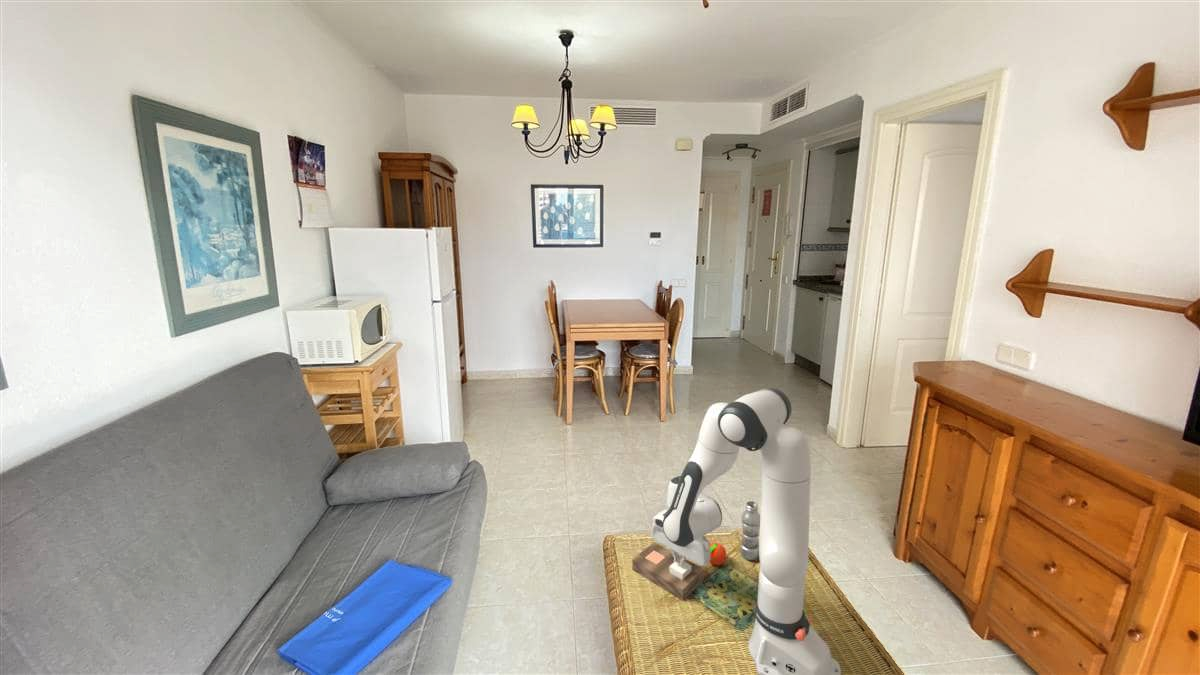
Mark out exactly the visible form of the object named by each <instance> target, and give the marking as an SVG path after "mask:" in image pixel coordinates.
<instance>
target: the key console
mask: <svg viewBox="0 0 1200 675" xmlns="http://www.w3.org/2000/svg"><path fill="white" fill-rule="evenodd" d="M654 550H655V551H656V552H658V553H660V554H662V555H663V556H665V557H666V558H665V559H664V560H663V561H662V562H661V563H659V564H658V565H655V564H654V563H652V562H650V561H648V560H647V559H645V557H646V556H647V555H649V554H650V553H651V552H652V551H654ZM679 556H680V557H681V555H679ZM631 560H632V561H631V563H632V564H631V566H632V567H631V569H632V571H634V572H635V573H637V574H638V575H640V576H642V577H643V578H644V579H646V580H648V581H649V582H651V583H652V584H654V585H656V586H658V587H659V588H661V589H662V590H664V591H665V592H667V593H669V594H671V595H672V596H673V597H675V598H677V599H679V600H680V601H682V602H683V601H684V600H685V599H687V597H689V595H691V593H692V592H693V591H694V590H695V589H696V588H697V587H698V586H699V585H701V584H702V582H704V580H705V568H703V567H702V566H700V565H698V564H697V563H695V562H693V561H691V560H689V559H687V558H686V559H685V562H686V563H688V564H689V565H691V566H692V571H691V573H690V574H689V575H688V576H687V577H686V578H685V579H684V580H681V579H679V578H678V577H676V576H674V575H672V574H671V573H669V566H671V565H672V564H673V563H674V557H673V554H672V552H671V549H669V548H667V547H665V546H664V545H662V544H661V545H660V543H659V544H658V542H656V541H655V542H652V543H651V544H650V545H648V546H647V547H646V548H645V549H643V550H642V551H641V552H640V553H639V554H637V555H636V556H634V557H633V558H632V559H631ZM694 588H695V589H694ZM693 589H694V590H693Z"/></svg>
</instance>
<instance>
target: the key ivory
mask: <svg viewBox="0 0 1200 675" xmlns="http://www.w3.org/2000/svg"><path fill="white" fill-rule="evenodd" d="M691 571H692V566H691V565H689V564H688V563H686V562H685V563H684V565H683V566H681V565H679V564H677V563H676V562H674V563H673V564H672V565H671V566H669V573H671V574H672V575H674V576H676V577H678V578H679V579H681V580H684V579H685V578H686V577H687V576H688V575H689V574H690V573H691Z"/></svg>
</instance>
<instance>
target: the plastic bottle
mask: <svg viewBox="0 0 1200 675" xmlns="http://www.w3.org/2000/svg"><path fill="white" fill-rule="evenodd" d="M758 508H759V507H758V503H757V502H755V501H752V500H751V501H749V500H748V501H747V502H746V505H745V510H743V512H742V515H741V525H742V536H741V542H740V545H739V546H740V547H739V551H740V555H741V556H742V557H743V559H744V560H745V559H746V560H747V561H754V560H757V559H758V558H759V537H760V516H761V514H760V513H759V511H758V510H759V509H758Z"/></svg>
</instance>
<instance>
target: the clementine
mask: <svg viewBox="0 0 1200 675" xmlns="http://www.w3.org/2000/svg"><path fill="white" fill-rule="evenodd" d="M726 559H727V551H726V549H725V547H724V546H723V545H722V544H721V543H718V542H710V561H709V563H710V564H711V565H714V566H720V565H723V563H725V561H726Z"/></svg>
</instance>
